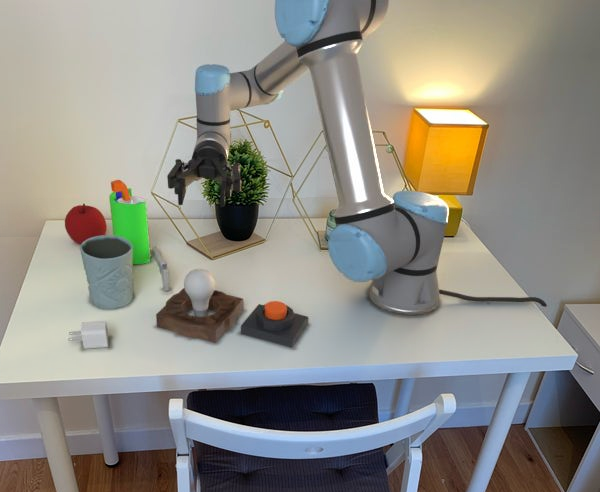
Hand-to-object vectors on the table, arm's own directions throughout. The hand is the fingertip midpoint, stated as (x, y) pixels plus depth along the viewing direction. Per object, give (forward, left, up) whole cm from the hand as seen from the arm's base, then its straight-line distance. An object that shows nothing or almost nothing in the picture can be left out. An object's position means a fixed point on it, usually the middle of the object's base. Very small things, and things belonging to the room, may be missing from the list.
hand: (201, 199), depth 127 cm
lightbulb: (-3, +7, -22) cm, 24 cm away
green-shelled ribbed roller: (+23, -10, -22) cm, 33 cm away
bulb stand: (-3, +7, -22) cm, 23 cm away
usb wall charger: (+12, +24, -22) cm, 35 cm away
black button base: (-18, +5, -22) cm, 29 cm away
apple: (+36, -10, -22) cm, 44 cm away
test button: (-18, +4, -18) cm, 26 cm away
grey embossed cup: (+17, +8, -22) cm, 29 cm away
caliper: (+18, +3, -23) cm, 29 cm away
